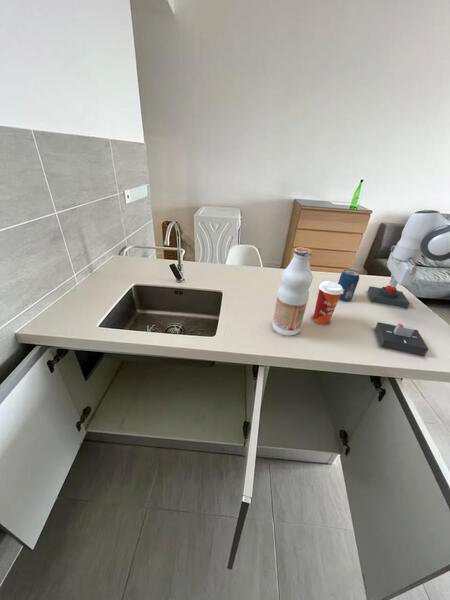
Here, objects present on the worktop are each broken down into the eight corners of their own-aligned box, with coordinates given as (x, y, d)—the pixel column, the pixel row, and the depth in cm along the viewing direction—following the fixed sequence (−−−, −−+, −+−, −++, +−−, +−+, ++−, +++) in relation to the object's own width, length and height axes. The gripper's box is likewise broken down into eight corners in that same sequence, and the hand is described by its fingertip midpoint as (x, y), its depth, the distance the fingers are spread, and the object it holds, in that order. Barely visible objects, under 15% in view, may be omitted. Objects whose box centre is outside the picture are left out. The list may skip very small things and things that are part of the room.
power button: (393, 289, 103) (395, 286, 102) (395, 293, 100) (397, 290, 99) (384, 288, 104) (385, 284, 103) (386, 292, 101) (387, 288, 100)
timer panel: (413, 336, 83) (417, 329, 81) (424, 356, 74) (429, 348, 73) (374, 328, 85) (378, 321, 84) (380, 347, 77) (384, 339, 76)
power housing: (399, 296, 106) (404, 287, 104) (406, 308, 98) (411, 299, 96) (367, 291, 109) (371, 282, 107) (371, 302, 101) (375, 292, 99)
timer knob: (408, 334, 78) (413, 326, 77) (410, 337, 77) (415, 329, 75) (393, 331, 80) (397, 323, 78) (394, 334, 78) (398, 325, 76)
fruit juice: (273, 335, 80) (289, 254, 65) (270, 318, 88) (284, 243, 73) (302, 337, 79) (324, 256, 65) (296, 320, 87) (315, 245, 73)
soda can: (339, 292, 107) (348, 267, 101) (354, 299, 103) (364, 273, 96) (330, 296, 104) (338, 270, 97) (345, 304, 99) (355, 277, 93)
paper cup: (320, 327, 85) (331, 292, 77) (306, 315, 90) (315, 282, 83) (337, 322, 87) (349, 288, 80) (322, 311, 93) (332, 279, 86)
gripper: (426, 265, 84) (408, 299, 91) (407, 247, 101) (394, 277, 108) (405, 262, 85) (389, 296, 93) (391, 244, 102) (378, 274, 109)
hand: (392, 285), depth 100 cm, fingers closed
